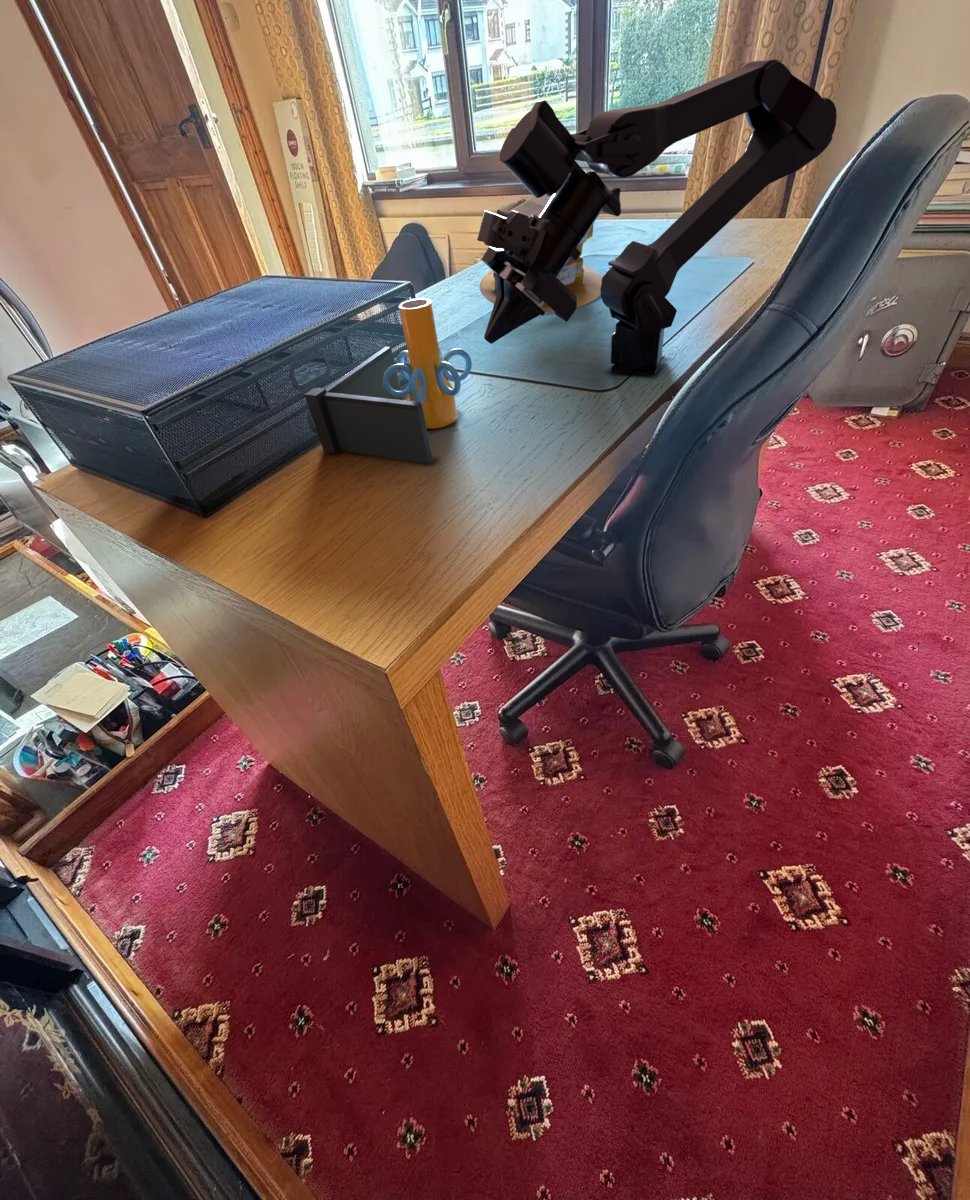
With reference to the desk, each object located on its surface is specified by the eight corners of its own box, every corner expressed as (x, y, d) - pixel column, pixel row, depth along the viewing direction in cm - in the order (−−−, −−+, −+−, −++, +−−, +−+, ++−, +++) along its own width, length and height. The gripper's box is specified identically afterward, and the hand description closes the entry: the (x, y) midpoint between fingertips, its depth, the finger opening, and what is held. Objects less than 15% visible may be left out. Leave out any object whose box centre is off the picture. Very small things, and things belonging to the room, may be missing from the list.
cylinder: (462, 441, 73) (443, 318, 63) (388, 441, 75) (357, 323, 65) (482, 399, 81) (467, 285, 71) (414, 400, 84) (390, 290, 73)
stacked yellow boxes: (630, 291, 109) (636, 185, 97) (518, 325, 102) (511, 216, 91) (561, 269, 125) (559, 176, 114) (461, 296, 119) (449, 202, 108)
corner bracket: (485, 406, 80) (478, 348, 74) (425, 468, 69) (411, 406, 64) (391, 397, 86) (379, 343, 80) (323, 452, 75) (303, 394, 70)
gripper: (488, 169, 70) (420, 286, 76) (548, 184, 57) (460, 324, 62) (548, 231, 76) (482, 334, 82) (615, 257, 63) (530, 378, 69)
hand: (487, 341), depth 74 cm, fingers closed
